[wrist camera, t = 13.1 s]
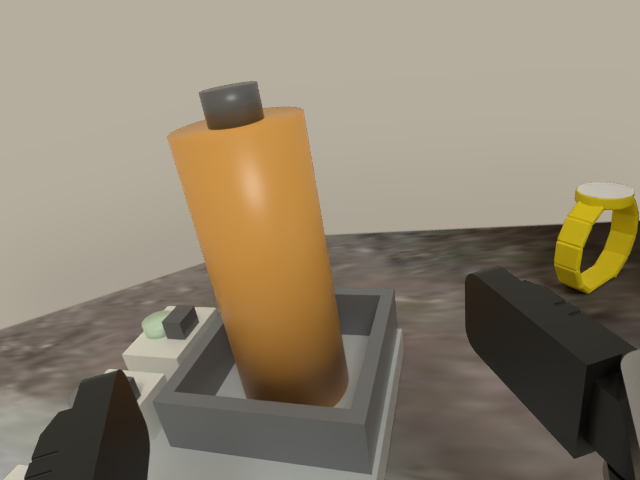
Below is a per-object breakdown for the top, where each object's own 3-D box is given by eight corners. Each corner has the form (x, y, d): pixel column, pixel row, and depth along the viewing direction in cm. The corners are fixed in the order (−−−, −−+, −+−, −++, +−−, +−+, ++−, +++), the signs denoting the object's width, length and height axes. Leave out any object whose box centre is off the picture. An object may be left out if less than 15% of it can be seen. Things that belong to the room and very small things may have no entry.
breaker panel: (403, 351, 24) (398, 279, 22) (323, 881, 10) (286, 802, 8) (190, 339, 28) (169, 276, 26) (-98, 704, 14) (-192, 623, 12)
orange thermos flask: (357, 350, 22) (313, 68, 17) (336, 428, 18) (268, 90, 13) (267, 346, 24) (199, 85, 18) (228, 418, 20) (126, 109, 14)
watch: (595, 260, 30) (611, 172, 28) (641, 276, 28) (662, 181, 25) (537, 290, 27) (549, 195, 25) (583, 309, 25) (601, 207, 23)
